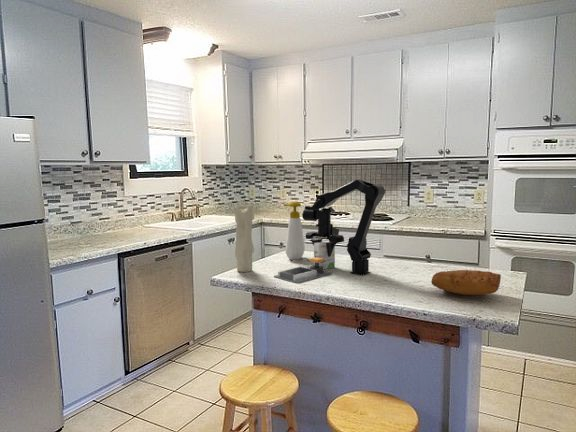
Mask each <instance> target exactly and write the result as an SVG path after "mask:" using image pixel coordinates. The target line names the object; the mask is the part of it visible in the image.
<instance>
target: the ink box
mask: <svg viewBox="0 0 576 432" xmlns="http://www.w3.org/2000/svg"><path fill="white" fill-rule="evenodd" d="M326 242H329V240H328V241H322V242H317V243H314V245H313V258H315V257H319V258H324V261H323V262H319V266H323V270H326V269H332V268H335V265H336V256H335V255H336V253H335V252H336V251H335V249H336V245H335V246H334V248H333V251H332V254H331V256H330V257H328V253H327V246H326ZM313 266H315V262H313Z"/></svg>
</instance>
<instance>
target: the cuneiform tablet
mask: <svg viewBox="0 0 576 432" xmlns="http://www.w3.org/2000/svg"><path fill="white" fill-rule="evenodd" d="M431 278H432V279H431V285H432V286H433V287H436V288H437V289H440V290H442V291H445V292H451V293H452V294H453V293H454V294H458V295H466V296H467V295H468V296H479V295H481V296H482V295H483V296H485V295H490V294H494V293H496V292H498V290H499V288H500V284H501V280H502V279H501V278H502V276H501V274H500V273H497V272H496V273H495V272H492V271H487V270H486V271H482V270H475V269H474V270H471V269H470V270H468V269H457V270H447V271H445V270H443V271H438V272H436V273H435V274H433V275H432V277H431Z"/></svg>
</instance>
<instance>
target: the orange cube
mask: <svg viewBox="0 0 576 432" xmlns="http://www.w3.org/2000/svg"><path fill="white" fill-rule="evenodd" d="M323 261H324V258H319V257H315V258H314V257H311V258H309V262H311V263H314V262H315V267H319V262H323Z"/></svg>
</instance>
